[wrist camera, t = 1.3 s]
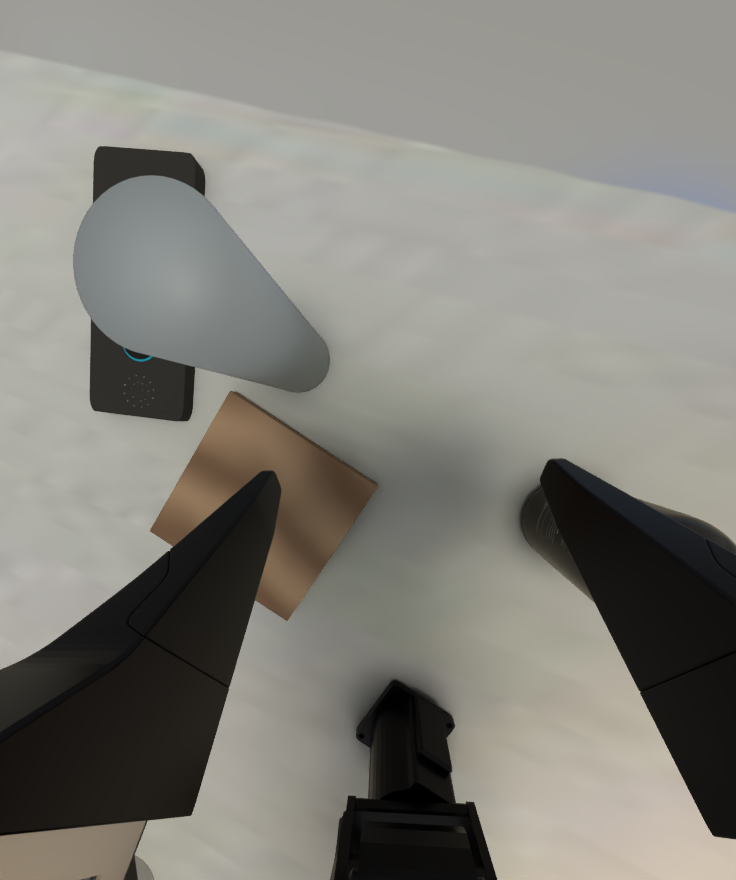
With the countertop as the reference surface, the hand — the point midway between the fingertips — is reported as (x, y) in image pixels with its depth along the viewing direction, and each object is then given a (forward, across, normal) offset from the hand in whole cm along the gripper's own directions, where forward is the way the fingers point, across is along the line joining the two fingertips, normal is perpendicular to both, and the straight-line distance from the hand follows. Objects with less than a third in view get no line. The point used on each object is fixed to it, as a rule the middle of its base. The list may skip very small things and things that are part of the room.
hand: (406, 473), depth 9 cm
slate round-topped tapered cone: (+15, +7, +1) cm, 17 cm away
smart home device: (+19, +19, -3) cm, 27 cm away
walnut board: (+8, +11, +12) cm, 18 cm away
